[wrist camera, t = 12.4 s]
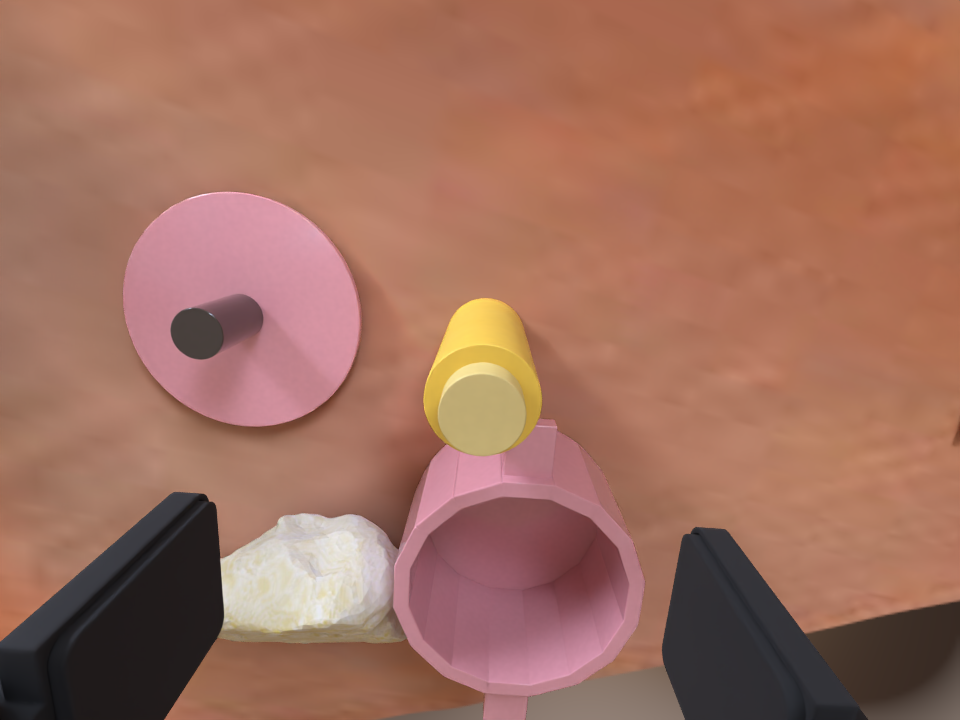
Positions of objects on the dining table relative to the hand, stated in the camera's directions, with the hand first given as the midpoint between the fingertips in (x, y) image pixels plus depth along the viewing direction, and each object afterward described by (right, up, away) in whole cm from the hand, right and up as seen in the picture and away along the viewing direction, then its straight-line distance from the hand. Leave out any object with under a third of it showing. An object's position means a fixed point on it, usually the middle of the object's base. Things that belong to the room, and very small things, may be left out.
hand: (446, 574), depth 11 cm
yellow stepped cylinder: (+1, +6, +21) cm, 22 cm away
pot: (+3, -6, +24) cm, 25 cm away
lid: (-13, +7, +20) cm, 25 cm away
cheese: (-12, -9, +26) cm, 30 cm away
